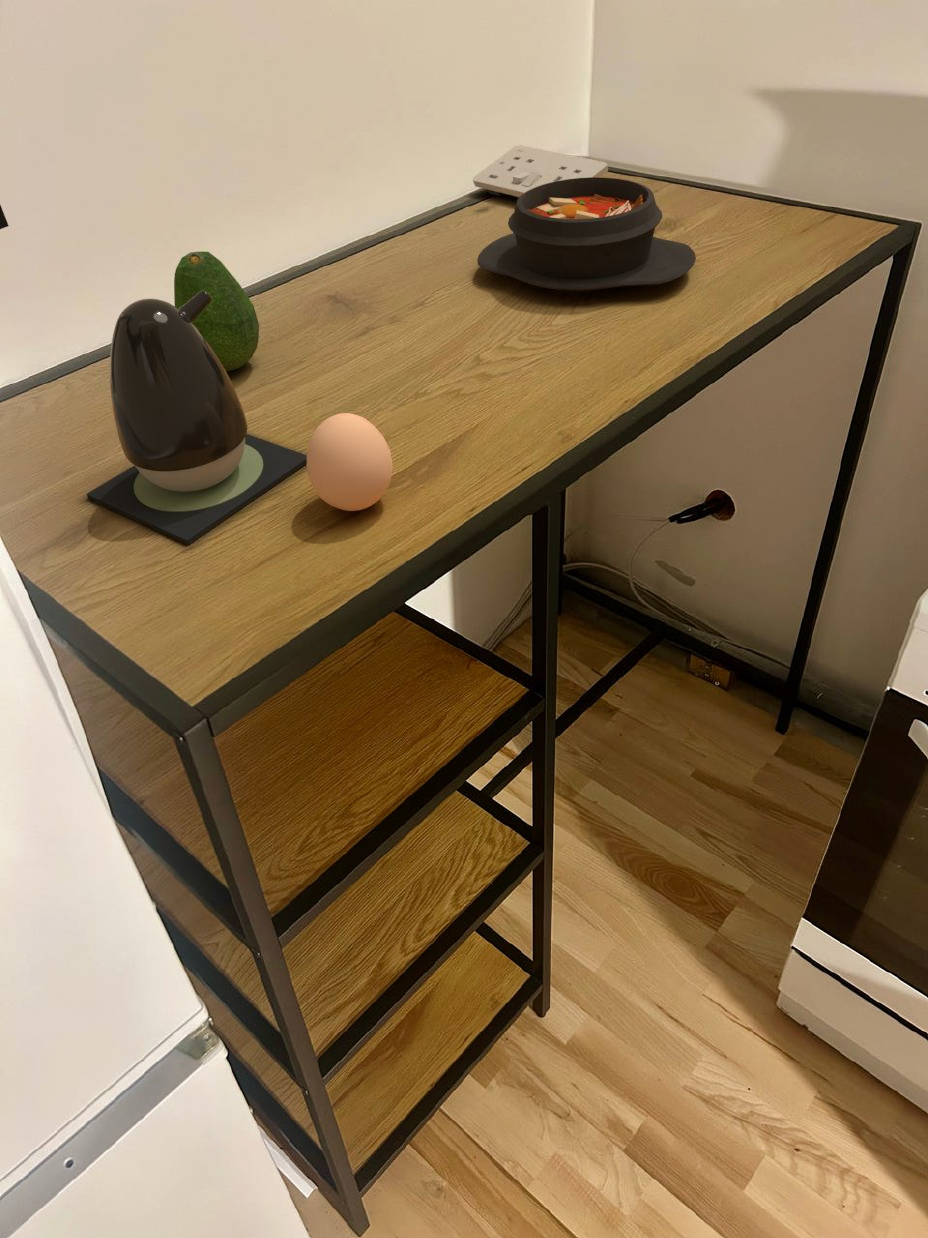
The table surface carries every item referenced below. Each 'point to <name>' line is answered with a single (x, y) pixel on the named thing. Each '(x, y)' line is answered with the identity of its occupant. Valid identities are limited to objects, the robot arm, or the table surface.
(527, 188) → the wall socket
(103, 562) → the table surface
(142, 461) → the pump dispenser
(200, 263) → the avocado
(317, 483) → the egg
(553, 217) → the casserole
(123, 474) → the placemat
